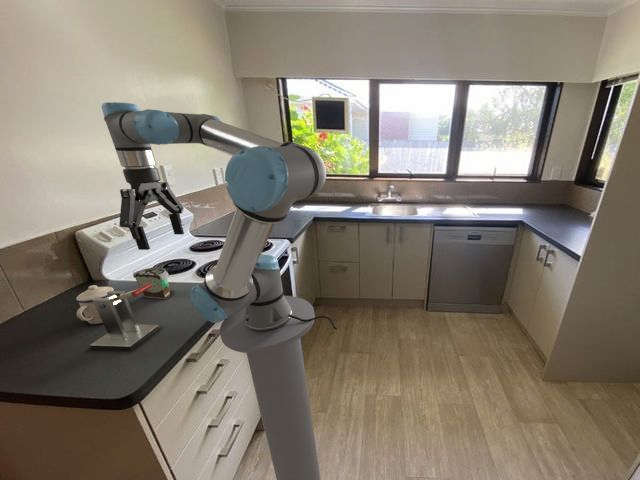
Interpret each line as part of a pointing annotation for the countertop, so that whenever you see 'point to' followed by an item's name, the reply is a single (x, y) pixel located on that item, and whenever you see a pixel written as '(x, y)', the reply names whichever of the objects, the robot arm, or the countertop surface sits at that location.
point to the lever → (129, 294)
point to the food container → (154, 282)
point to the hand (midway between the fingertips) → (163, 241)
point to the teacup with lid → (91, 303)
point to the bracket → (120, 325)
